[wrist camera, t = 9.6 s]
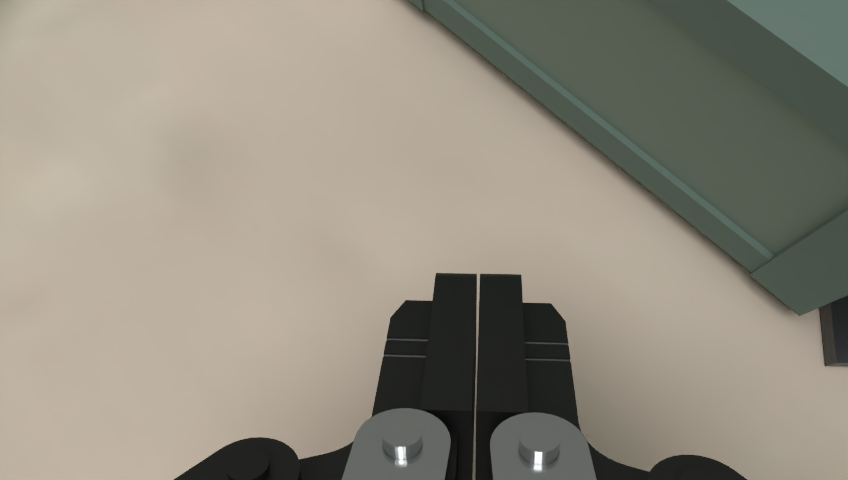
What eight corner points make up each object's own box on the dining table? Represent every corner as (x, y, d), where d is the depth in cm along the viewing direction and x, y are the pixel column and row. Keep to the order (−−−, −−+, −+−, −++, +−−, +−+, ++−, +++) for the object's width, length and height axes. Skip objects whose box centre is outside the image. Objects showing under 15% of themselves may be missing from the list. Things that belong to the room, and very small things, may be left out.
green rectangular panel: (837, 271, 24) (1083, 146, 14) (799, 315, 23) (1023, 220, 14) (420, -55, 27) (387, -329, 18) (384, -20, 27) (330, -280, 17)
